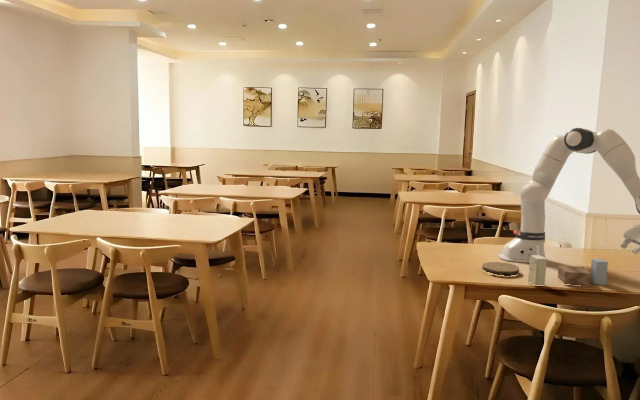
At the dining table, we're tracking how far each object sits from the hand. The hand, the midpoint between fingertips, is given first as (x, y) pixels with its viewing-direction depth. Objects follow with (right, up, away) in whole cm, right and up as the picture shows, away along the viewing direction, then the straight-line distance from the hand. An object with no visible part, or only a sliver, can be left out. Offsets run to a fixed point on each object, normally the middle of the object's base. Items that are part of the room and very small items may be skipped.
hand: (627, 250), depth 210 cm
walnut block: (-21, -14, +4) cm, 26 cm away
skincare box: (-38, -15, 0) cm, 41 cm away
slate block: (-11, -14, +3) cm, 18 cm away
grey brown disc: (-47, -12, +19) cm, 52 cm away
